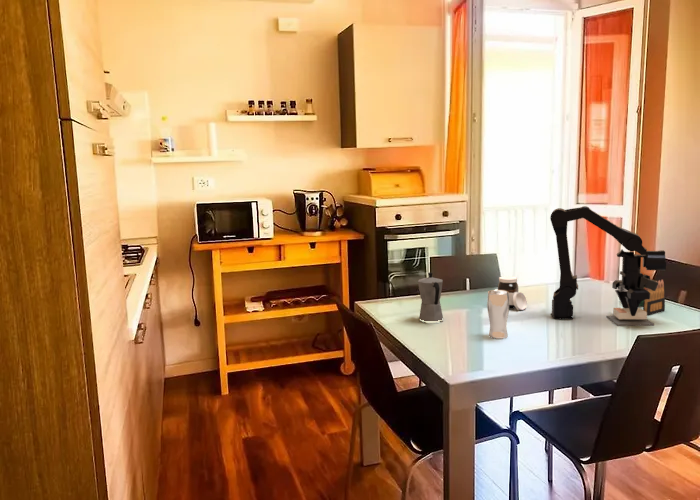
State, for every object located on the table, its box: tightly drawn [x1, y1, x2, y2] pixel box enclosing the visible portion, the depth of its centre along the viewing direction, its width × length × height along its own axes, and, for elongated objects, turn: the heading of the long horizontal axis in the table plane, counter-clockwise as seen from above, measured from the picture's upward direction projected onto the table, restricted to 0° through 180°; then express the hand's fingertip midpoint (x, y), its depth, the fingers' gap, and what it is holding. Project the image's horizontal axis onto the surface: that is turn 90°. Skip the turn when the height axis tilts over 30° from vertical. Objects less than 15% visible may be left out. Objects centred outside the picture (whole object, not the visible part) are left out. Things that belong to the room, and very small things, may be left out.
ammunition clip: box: [642, 279, 666, 317], centre depth 206 cm, size 11×2×12 cm, turn 120°
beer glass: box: [486, 289, 510, 340], centre depth 185 cm, size 7×7×15 cm
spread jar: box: [497, 275, 528, 311], centre depth 222 cm, size 12×11×12 cm
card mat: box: [605, 315, 655, 327], centre depth 198 cm, size 12×11×1 cm
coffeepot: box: [417, 272, 444, 321], centre depth 206 cm, size 15×9×18 cm, turn 10°
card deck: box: [612, 307, 648, 319], centre depth 197 cm, size 6×9×2 cm, turn 84°
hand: (629, 313), depth 197 cm, fingers closed on card deck, 6 cm apart
